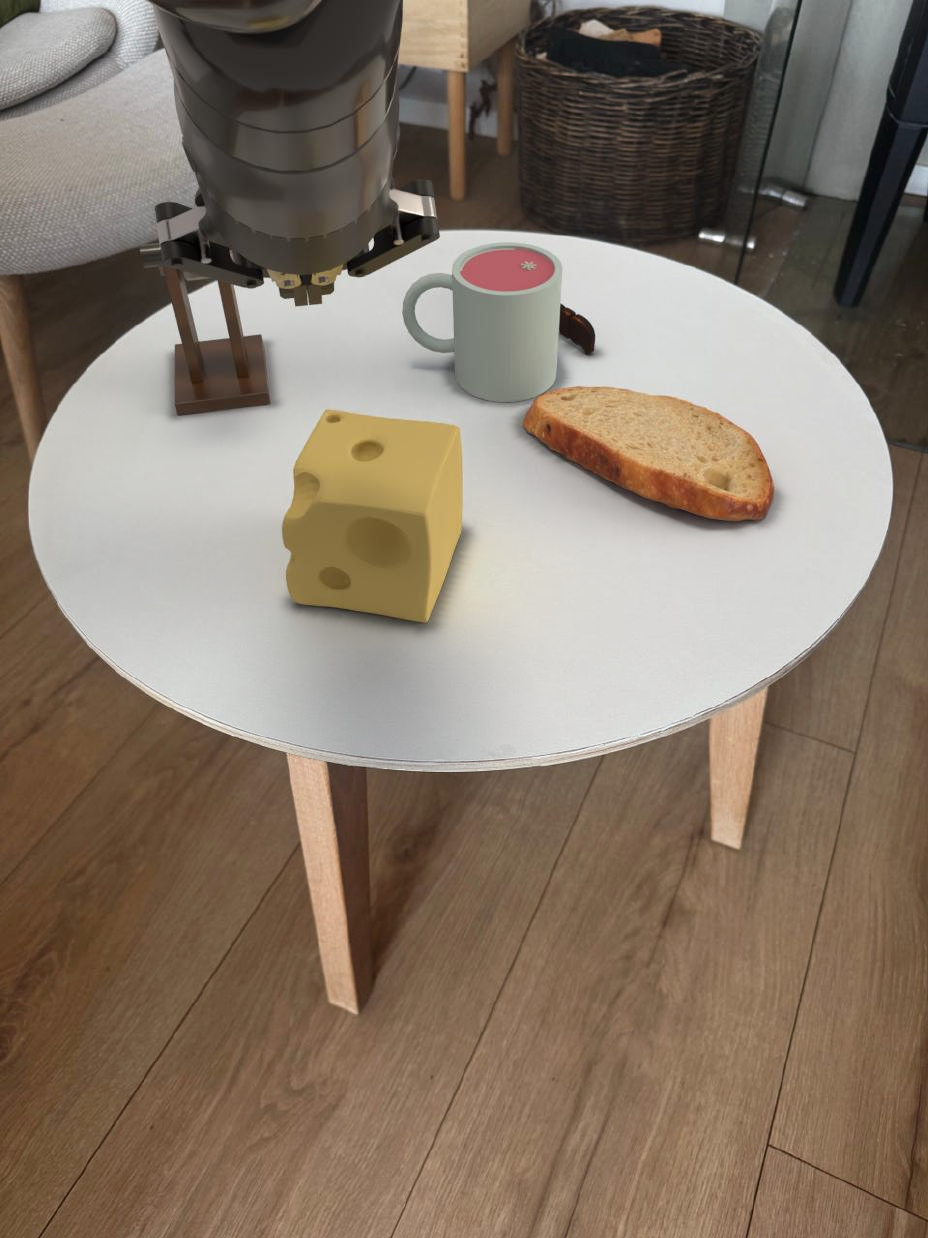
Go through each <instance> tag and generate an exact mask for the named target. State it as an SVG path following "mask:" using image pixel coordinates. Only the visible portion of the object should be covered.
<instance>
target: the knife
mask: <svg viewBox="0 0 928 1238" xmlns="http://www.w3.org/2000/svg"><path fill="white" fill-rule="evenodd" d="M559 335H561V336H562V337H563V338H565V339H566V340H570V341H571V342H572V343H573V344H575V345H577V346H579V347H580V348H581V349H582V350H583V352H584V354H585V356H588V355H591V354H593V353H594V352H595V346H596V331H595V328H594V326H593V324H592V323H591V322H590V320H589V319H587V318H586V317H584V316H583V315H581V314H580V313H576V311H575V310H573V309H572V308H569V307H566V306H565V305H564V304H563V303H561V302H560V318H559Z"/></svg>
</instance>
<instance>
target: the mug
mask: <svg viewBox="0 0 928 1238" xmlns="http://www.w3.org/2000/svg"><path fill="white" fill-rule="evenodd" d="M562 281H563V264H562V262H561V260H560V259H559V258H558V257H557V255H555V254H554V253H552V252H551V251H549V250H547V249H545V248H543V247H540V246H537V245H533V244H529V243H522V242H514V241H513V242H512V241H511V242H509V241H507V242H504V241H503V242H493V243H487V244H481V245H477V246H475V247H472V248H470V249H468V250H466V251H464V252H462V253H461V254H460V255H458V256H457V257H456V258H455V260H454V261H453V262H452V266H451V274H450V273H444V272H436V273H428V274H426V275H424V276H421V277H419V278H418V279H417V280H416V281H414V282H413V283H412V284H411V285H410V287H409V288H408V289H407V291H406V292H405V295H404V298H403V301H402V311H401V314H402V319H403V323H404V326H405V328H406V330H407V332H408V333H409V335H410V336H411V337H412V339H413V340H414V341H415V342H416V343H417V344H419V345H420V346H421V347H422V348H425V349H426V350H429V351H431V352H435V353H441V354H449V353H453V355H454V357H453V359H454V377H455V381H456V383H457V385H458V386H459V387H460V388H461V389H462V390H463V391H464V392H466V393H468V395H471V396H473V397H476V398H478V399H481V400H484V401H490V402H497V403H516V402H521V401H527V400H531V399H533V398H537V397H539V396H541V395H543V394H544V393H546V392H548V390H549V389H550V388H551V387H552V386H553V385H554V383H555V382H556V378H557V369H558V368H557V367H558V355H559V354H558V353H559V352H558V351H559V335H560V333H559V318H560V303H561V301H562V300H561V299H562V298H561V297H562ZM435 288H436V289H438V288H441V289H447V290H450V291H452V318H453V319H452V320H453V321H452V322H453V337H452V338H447V339H443V338H437V337H435V336H433V335H430V334H429V333H428V332H426V331H425V330H424V329H423V328H422V327H421V325H420V324H419V322H418V320H417V316H416V305H417V302H418V300H419V298H420V297H421V296H422V295H423V294H424V293H425V292H426V291H428V290H431V289H435Z"/></svg>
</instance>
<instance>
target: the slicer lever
mask: <svg viewBox="0 0 928 1238" xmlns="http://www.w3.org/2000/svg"><path fill="white" fill-rule="evenodd" d="M138 249H139V255H140V260H141V263H142V266H143V268H144V269H147V268H148V269H149V268H157V267H158V268H159V266H165V265H164V264H163V261H162V254H161V247H160V244H159V242H157V243H156V242H155V243H147V244H140V245H139V248H138ZM182 272H183V276H184V280H185V281H188V282H189V281H191V282H192V281H199V280H207V279H208V280H209V279H210V278H207V277H204V276H200V275H196V274H193V273H189V272H186V271H182Z"/></svg>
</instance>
